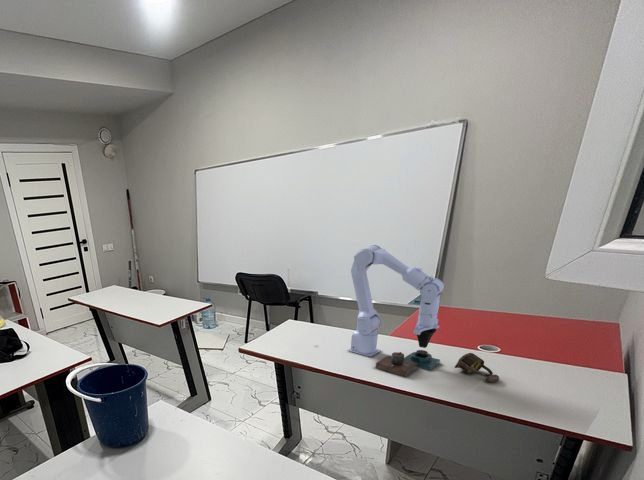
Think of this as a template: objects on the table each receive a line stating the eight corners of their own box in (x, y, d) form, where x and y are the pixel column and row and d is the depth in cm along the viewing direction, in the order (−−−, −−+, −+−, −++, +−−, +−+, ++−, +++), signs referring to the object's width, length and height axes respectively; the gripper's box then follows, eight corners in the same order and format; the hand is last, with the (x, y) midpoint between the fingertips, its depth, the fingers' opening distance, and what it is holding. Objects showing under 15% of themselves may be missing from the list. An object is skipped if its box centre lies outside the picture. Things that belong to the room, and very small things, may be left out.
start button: (414, 356, 138) (414, 352, 137) (418, 353, 140) (419, 349, 139) (424, 358, 135) (424, 354, 134) (428, 355, 137) (429, 351, 136)
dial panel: (375, 368, 139) (376, 362, 138) (387, 360, 143) (388, 354, 142) (405, 377, 130) (406, 370, 129) (417, 369, 135) (418, 362, 134)
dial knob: (399, 366, 133) (401, 356, 132) (388, 363, 136) (389, 354, 135) (405, 362, 135) (406, 353, 134) (394, 359, 138) (395, 350, 137)
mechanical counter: (483, 352, 129) (454, 348, 130) (510, 364, 117) (479, 360, 118) (475, 370, 132) (447, 367, 132) (502, 384, 119) (471, 380, 120)
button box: (401, 362, 141) (402, 354, 139) (411, 356, 144) (412, 348, 143) (429, 370, 133) (431, 362, 131) (439, 363, 137) (441, 355, 135)
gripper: (431, 320, 124) (425, 355, 129) (449, 309, 131) (443, 343, 136) (409, 316, 130) (404, 350, 135) (428, 306, 137) (423, 339, 142)
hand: (422, 346), depth 136 cm, fingers closed
